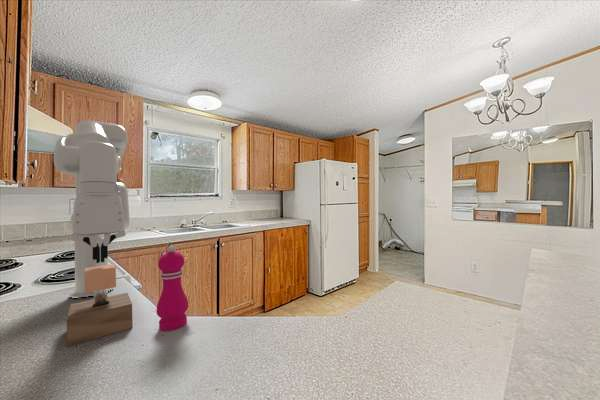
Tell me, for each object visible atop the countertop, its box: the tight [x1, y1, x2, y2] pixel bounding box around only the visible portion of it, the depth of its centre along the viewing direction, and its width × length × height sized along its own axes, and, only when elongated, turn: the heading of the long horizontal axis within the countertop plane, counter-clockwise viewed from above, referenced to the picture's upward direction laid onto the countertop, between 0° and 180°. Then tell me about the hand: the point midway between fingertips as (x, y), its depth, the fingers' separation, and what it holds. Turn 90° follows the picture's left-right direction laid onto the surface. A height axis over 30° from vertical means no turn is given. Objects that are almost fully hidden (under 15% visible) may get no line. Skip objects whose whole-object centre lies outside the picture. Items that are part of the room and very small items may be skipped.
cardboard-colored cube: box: [84, 263, 117, 293], centre depth 63 cm, size 6×6×5 cm
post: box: [93, 289, 108, 307], centre depth 63 cm, size 3×3×9 cm
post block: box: [66, 292, 134, 347], centre depth 63 cm, size 12×12×6 cm
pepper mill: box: [155, 245, 189, 332], centre depth 63 cm, size 7×7×20 cm
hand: (100, 261), depth 63 cm, fingers closed
